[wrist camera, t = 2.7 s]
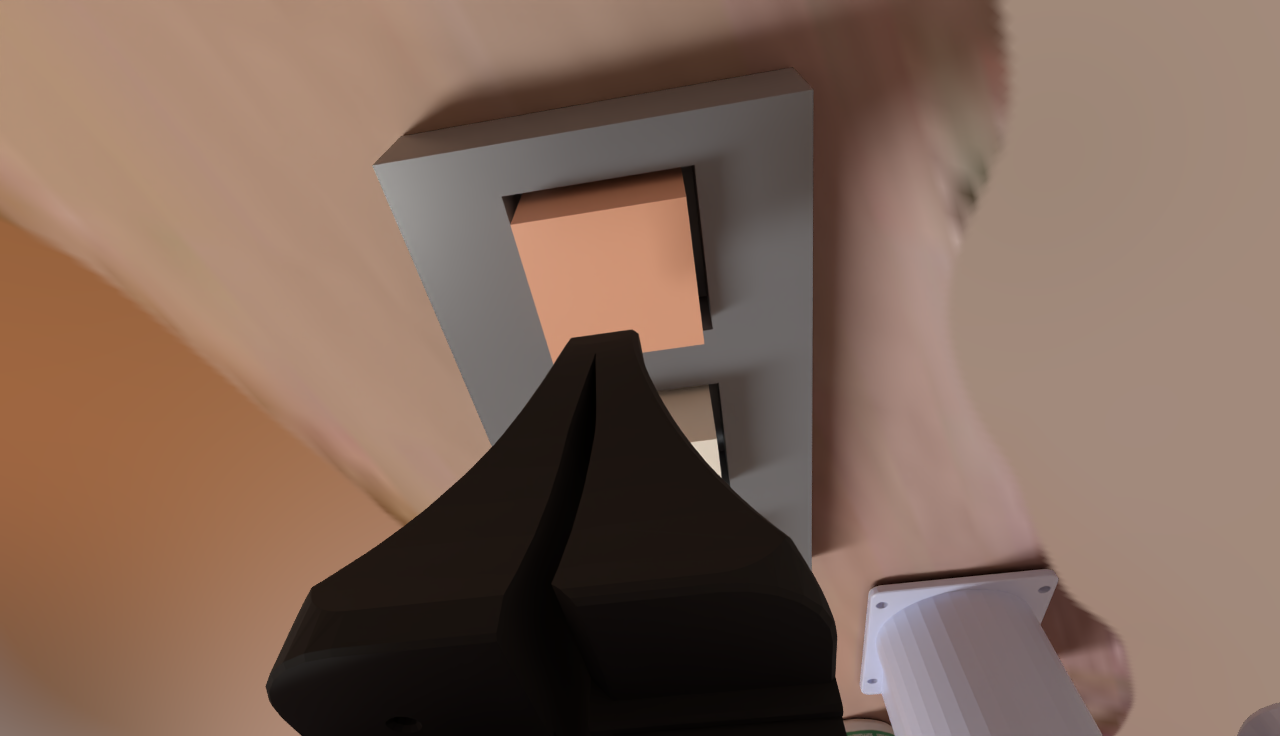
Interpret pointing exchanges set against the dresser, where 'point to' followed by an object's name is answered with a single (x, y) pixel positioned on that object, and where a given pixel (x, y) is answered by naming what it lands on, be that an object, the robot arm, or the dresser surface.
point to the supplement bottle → (867, 728)
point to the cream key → (695, 419)
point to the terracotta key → (612, 260)
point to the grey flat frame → (722, 248)
